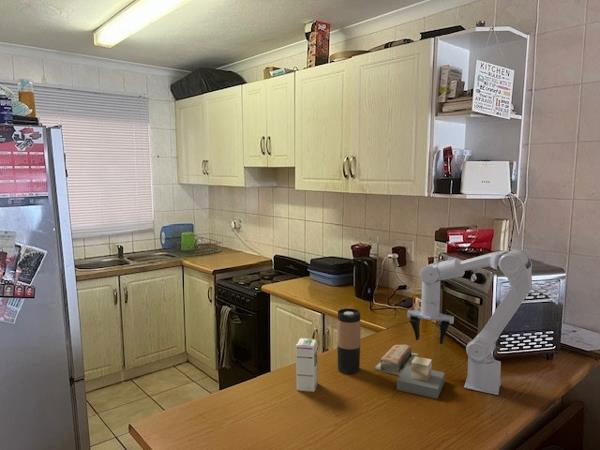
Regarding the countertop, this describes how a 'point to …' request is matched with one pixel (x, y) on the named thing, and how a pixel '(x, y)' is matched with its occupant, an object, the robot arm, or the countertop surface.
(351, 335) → the travel mug
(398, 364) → the packaged product
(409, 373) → the gray plinth
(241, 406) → the countertop surface
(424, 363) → the birch block
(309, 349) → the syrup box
